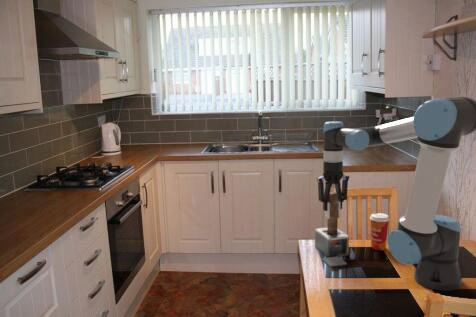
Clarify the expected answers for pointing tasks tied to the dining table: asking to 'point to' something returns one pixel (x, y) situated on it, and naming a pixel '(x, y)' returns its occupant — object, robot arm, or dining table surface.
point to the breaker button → (333, 242)
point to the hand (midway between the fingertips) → (332, 217)
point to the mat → (334, 261)
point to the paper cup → (379, 230)
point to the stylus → (333, 214)
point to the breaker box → (324, 243)
